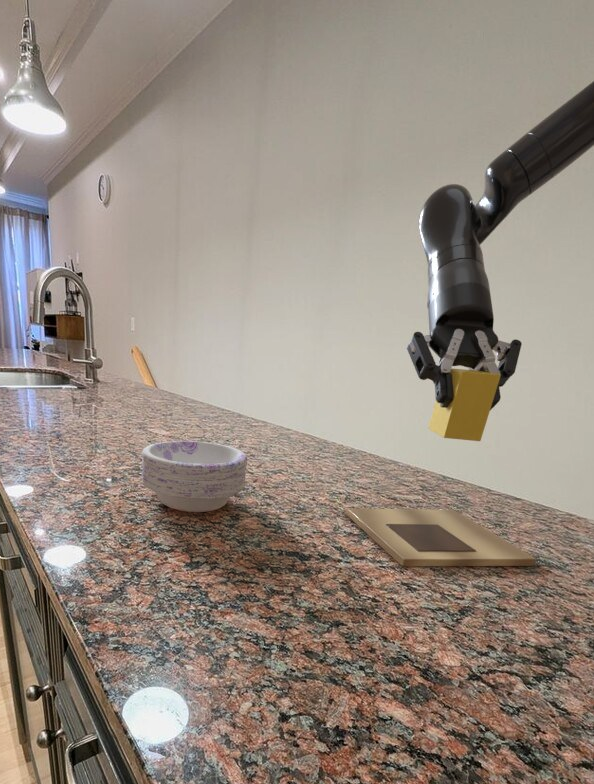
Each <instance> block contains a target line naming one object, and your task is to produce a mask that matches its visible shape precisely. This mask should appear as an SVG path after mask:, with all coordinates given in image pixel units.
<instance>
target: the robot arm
mask: <svg viewBox="0 0 594 784" xmlns="http://www.w3.org/2000/svg"><path fill="white" fill-rule="evenodd" d="M593 147H594V80H593V81H591V82H590V83H589V84H588V85H587V86H585V87H584V88H583V89H581V90H580V91H579V92H578V93H576V94H575V95H574V96H572V97H571V98H569V100H567V101H566V102H565V103H563V104H562V105H560V106H559V107H558V108H557V109H556V110H554V111H553V112H551V114H549V115H548V116H546V117H545V118H544V119H543V120H542V121H540V122H539V123H537V124H536V125H535V126H533V128H531V129H530V130H529V131H527V132H526V133H525V134H524V135H522V137H520V138H519V139H518V140H516V141H515V142H514V143H513V144H511V145H510V146H509V147H508V148H506V149H505V150H504V151H503V152H501V153H500V154H498V156H497V157H495V158H494V159H493V160H492V161H491V162H490V163H489V164H488V165H487V167H486V169H485V171H484V191H483V194H482V196H481V197H480V199H479V200H478V202H477V203H476V204H475V202H474V199H473V197H472V195H471V192H470V191H469V190H468V189H467V187H465V186H463V185H461V184H458V183H450V184H446V185H443V186H440V187H439V188H437V189H436V190H435V191H434V192H432V194H430V195H429V196H428V198H427V199H426V200H425V202H424V204H423V205H422V206H421V207H422V208H421V209H420V212H419V216H418V229H419V234H420V240H421V243H422V247H423V251H424V254H425V258H426V263H427V278H428V279H427V280H428V292H427V303H426V307H427V312H428V313H427V314H428V328H429V334H425V335H424V334H423V333H422V332H421V331H415V332H414V333H413V335H412V337H411V339H410V341H409V343H408V344H407V347H406V350H407V352H408V355H409V358H410V359H411V362H412V365H413V367H414V369H415V372H416V374H417V376H418V378H419V379H420V380H421V381H426V380H430V381H432V383H433V384H434V394H435V402H436V401H437V403H440V407H443V408H447V407H448V406H449V405H450V403H451V402H452V401H453V398H454V392H453V380H452V374H449V372H450V371H451V368H452V369H453V367H458V366H460V367H464V368H468V370H476V371H483V372H489V373H494V374H500V375H501V376H500V379H499V383H498V386H497V389H496V392H495V396H494V399H493V402H492V405H491V409H490V411H491V410H492V409H494V407H495V406H496V405H497V404H498V403H499V402H500V400H501V397H502V396H501V390H500V388H501V387H503V386H504V385H505V384H506V383H507V381H509V379H510V378H511V377H513V375H514V374H515V373H516V369H517V365H518V361H519V356H520V353H521V350H522V349H521V348H522V344H523V343H522V341H521V340H519V339H512V340H511V341H510V343H509V342H506V341H502V340H499V337H498V335H497V333H495V330H494V323H495V322H494V318H495V317H494V310H493V302H492V296H491V290H490V289H491V288H490V281H489V277H488V275H487V273H486V268H485V262H484V254H483V250H482V247H481V245H482V244H483V243H484V242H485V240H486V239H487V238H488V237H489V236H490V235H491V234H493V232H494V231H495V230H496V228H498V226H499V225H500V224H501V223H502V222H503V221H504V220H505V219H507V217H508V216H509V214H510V213H511V212H513V210H514V209H515V208H516V207H517V206H518V205H519V204H520V203H521V202H522V201H524V200H525V199H527V198H528V197H529V196H531V195H532V194H534V193H535V192H536V191H538V190H539V189H540V188H541V187H543V186H544V185H546V184H548V182H549V181H551V180H552V179H554V178H556V176H558V175H559V174H560V173H561V172H563V171H564V170H566V169H567V168H568V167H569V166H570V165H572V164H573V163H574V162H576V161H577V160H578V159H579V158H580V157H582V156H583V155H584V154H585V153H587V152H588V151H590V150H591V148H593ZM430 349H431V350H432V351H433V353H434V354H436V355H437V356H438V358H439V359H438V362H437V363H436V361H435V358H434V356H433V354H432V352H431V350H430ZM494 352H495V353H496V355H495V353H494ZM496 357H497V358H496ZM496 361H497V362H498V366H497V364H496Z"/></svg>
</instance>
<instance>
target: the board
mask: <svg viewBox="0 0 594 784" xmlns="http://www.w3.org/2000/svg"><path fill="white" fill-rule="evenodd" d="M345 514H346V516H347V517H348V518H350V520H351V521H353V522H354V523H355V524H356V525H357V526H358V527H359V528H360V529H361V530H362V531H364V533H365V534H367V535H368V536H369V538H371V539H372V540H373V541H374V542H375V543H376V544H377V545H378V546H379V547H381V548H382V549H383V550H384V551H385V552H386V553H387V554H388V555H389V556H391V558H393V559H394V560H395V561H396V562H397V563H398V564H399V565H400V566H401V567H534V566H535V565H536V563H537V560H538V559H537V558H536V557H534V556H532V555H531V554H529V552H528V553H527V552H526V551H525V550H523V549H521V548H520V547H518V546H516V545H514V544H512V543H511V542H509V541H507V540H506V539H505V538H503V537H501V536H499V535H497V534H496V533H494V532H492V531H491V530H489V529H488V528H485V527H484V526H482V525H481V524H478V523H477V522H475V521H474V520H472V519H470V518H469V517H467V516H465V515H464V514H462V513H460V512H458V511H457V510H455V509H416V508H415V509H413V508H409V509H408V508H355V507H354V508H353V507H352V508H351V507H347V508H346V513H345Z"/></svg>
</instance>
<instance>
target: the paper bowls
mask: <svg viewBox="0 0 594 784" xmlns="http://www.w3.org/2000/svg"><path fill="white" fill-rule="evenodd" d="M141 456H142V458H141V460H142V461H141V481H142V485H143V486H144V487H145V488H147V489H148V490H150V491H152V492H154V493H155V496H156V498H157V499H158V500H159V503H161V504H163V505H164V506H166V507H168V508H170V509H173V510H175V511H176V510H177V511H181V512H187V513H207V512H212V511H216V510H218V509H221V508H223V507H224V506H225V505H226V504H227V503H228V502H229V500H230V498H231V497H232V496H236V495H238V494H240V493H241V492H242V491H244V489H245V485H246V483H245V482H246V476H247V472H246V471H247V465H248V456H247V455H246V453H244V451H242V450H240V449H238V448H235V447H233V446H229V445H225V444H221V443H214V442H207V441H195V440H194V441H193V440H174V441H162V442H156V443H152V444H149V445H147V446H145V447H144V448H143V450H142V453H141Z"/></svg>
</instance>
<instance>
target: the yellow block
mask: <svg viewBox="0 0 594 784" xmlns="http://www.w3.org/2000/svg"><path fill="white" fill-rule="evenodd" d="M449 374H452V380H453V392H454V398H453V401H452V402H451V403H450V405H449V406H448V407H447V408H443V407H440V403H437V401H436V400H435V402H434V406H433V410H432V413H431V417H430V421H429V424H428V425H429V426H428V429H429V430H430V431H432V432H434V433H435V434H437V435H439V436H440V437H442V438H444V439H452V440H463V441H473V442H481V440H482V437H483V434H484V431H485V428H486V425H487V422H488V418H489V415H490V412H491V410H492V409H491V405H492V402H493V399H494V396H495V392H496V389H497V386H498V383H499V379H500V376H501V375H500V374H494V373H489V372H483V371H476V370H469V369H463V368H453V367H452V368H451V371H450V372H449ZM490 409H491V410H490Z"/></svg>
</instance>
